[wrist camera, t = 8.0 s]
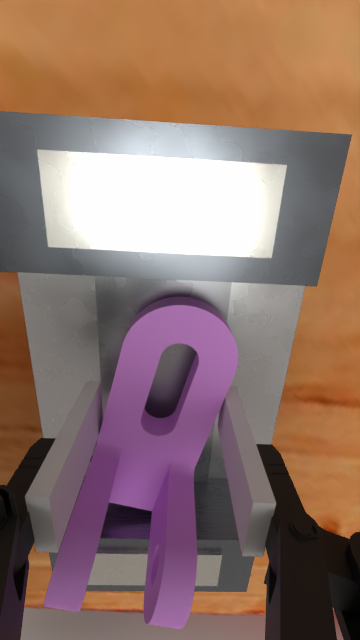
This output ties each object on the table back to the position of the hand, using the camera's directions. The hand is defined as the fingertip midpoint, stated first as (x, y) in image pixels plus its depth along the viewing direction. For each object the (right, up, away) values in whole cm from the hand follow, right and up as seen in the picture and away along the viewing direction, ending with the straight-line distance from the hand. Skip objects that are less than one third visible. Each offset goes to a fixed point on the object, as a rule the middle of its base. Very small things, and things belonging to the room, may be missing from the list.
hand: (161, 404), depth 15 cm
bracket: (0, 0, +1) cm, 1 cm away
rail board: (0, +1, +2) cm, 3 cm away
